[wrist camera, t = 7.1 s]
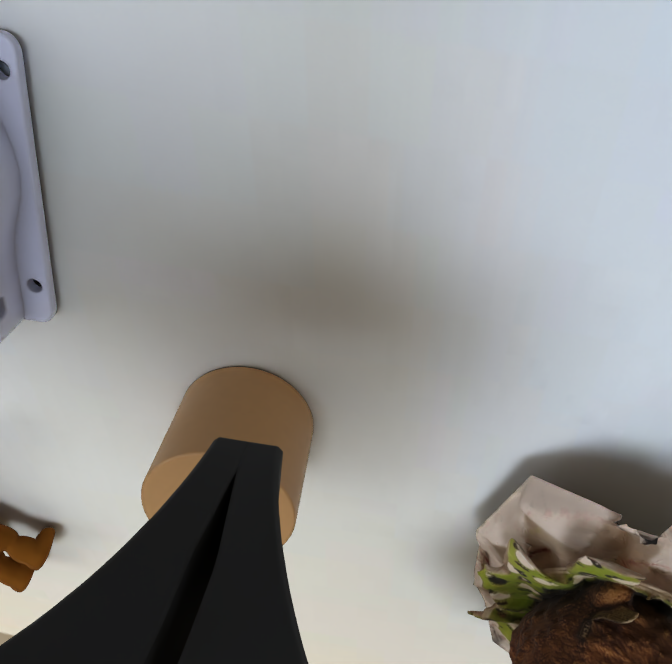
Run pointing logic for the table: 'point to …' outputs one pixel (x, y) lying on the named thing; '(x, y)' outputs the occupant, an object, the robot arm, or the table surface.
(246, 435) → the brown cylinder block
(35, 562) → the toy figurine
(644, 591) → the bear figurine
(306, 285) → the table surface
